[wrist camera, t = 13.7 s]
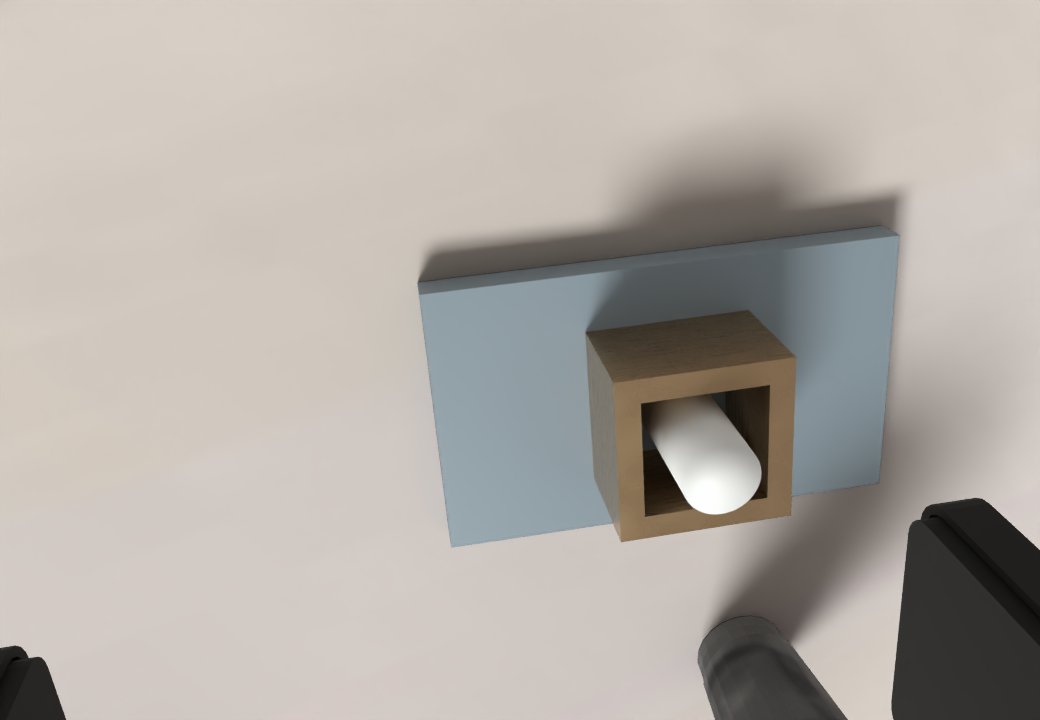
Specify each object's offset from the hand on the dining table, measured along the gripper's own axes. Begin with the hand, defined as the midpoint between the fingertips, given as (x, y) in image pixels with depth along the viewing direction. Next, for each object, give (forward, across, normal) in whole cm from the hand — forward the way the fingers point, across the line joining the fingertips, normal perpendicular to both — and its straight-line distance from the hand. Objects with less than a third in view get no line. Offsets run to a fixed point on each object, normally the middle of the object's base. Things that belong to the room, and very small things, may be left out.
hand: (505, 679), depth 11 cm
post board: (+30, -10, +12) cm, 34 cm away
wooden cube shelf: (+29, -10, +12) cm, 33 cm away
